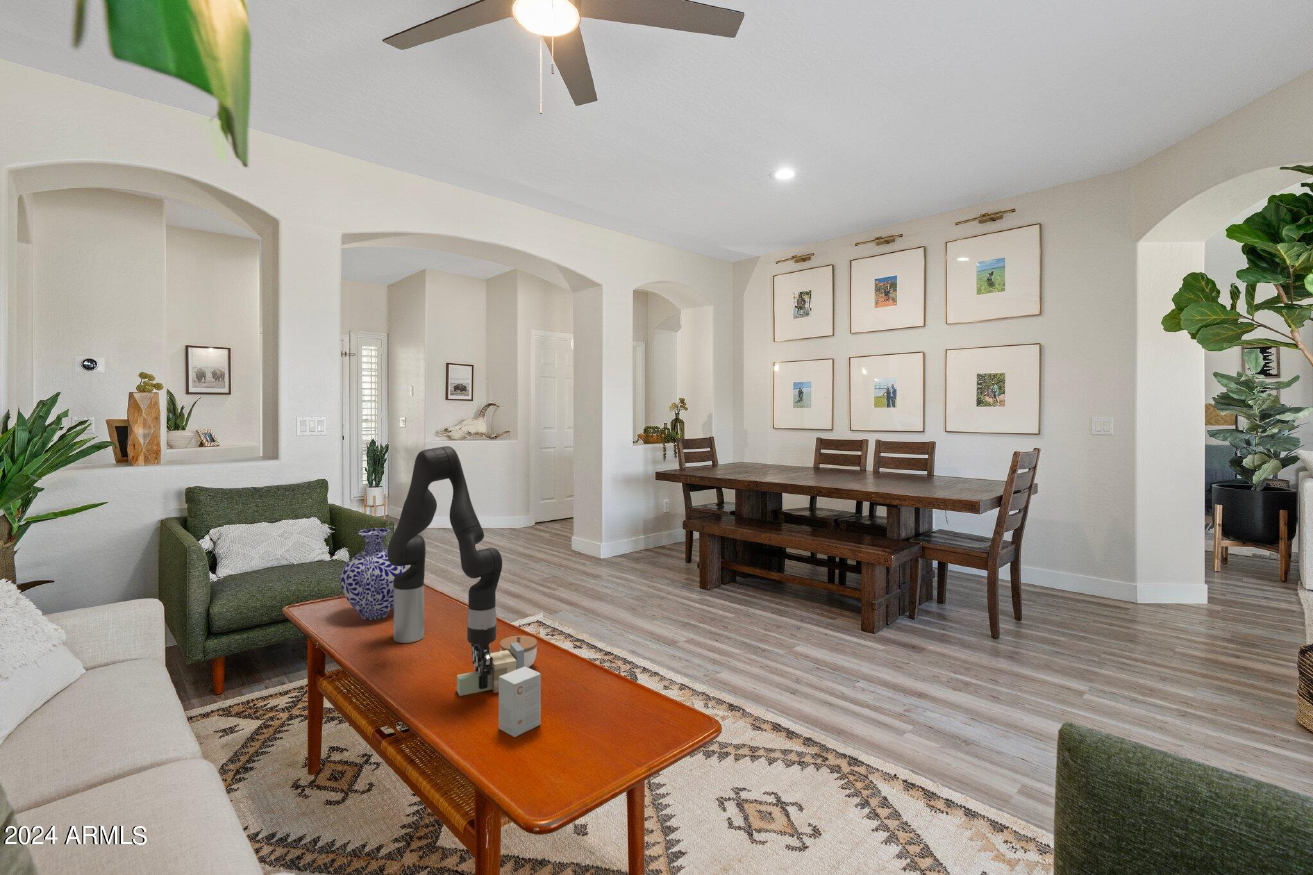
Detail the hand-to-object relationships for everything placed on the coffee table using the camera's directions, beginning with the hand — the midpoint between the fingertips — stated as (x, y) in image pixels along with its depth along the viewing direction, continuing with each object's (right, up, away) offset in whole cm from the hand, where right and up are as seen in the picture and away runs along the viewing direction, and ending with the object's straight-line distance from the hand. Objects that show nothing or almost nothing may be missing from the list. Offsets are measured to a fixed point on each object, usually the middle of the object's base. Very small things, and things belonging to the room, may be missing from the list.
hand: (481, 685), depth 178 cm
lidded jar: (+7, 0, +14) cm, 16 cm away
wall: (+8, -1, +5) cm, 10 cm away
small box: (+14, -3, -19) cm, 24 cm away
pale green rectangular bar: (0, -1, 0) cm, 1 cm away
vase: (-52, +4, +54) cm, 75 cm away
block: (+5, -1, +3) cm, 6 cm away
